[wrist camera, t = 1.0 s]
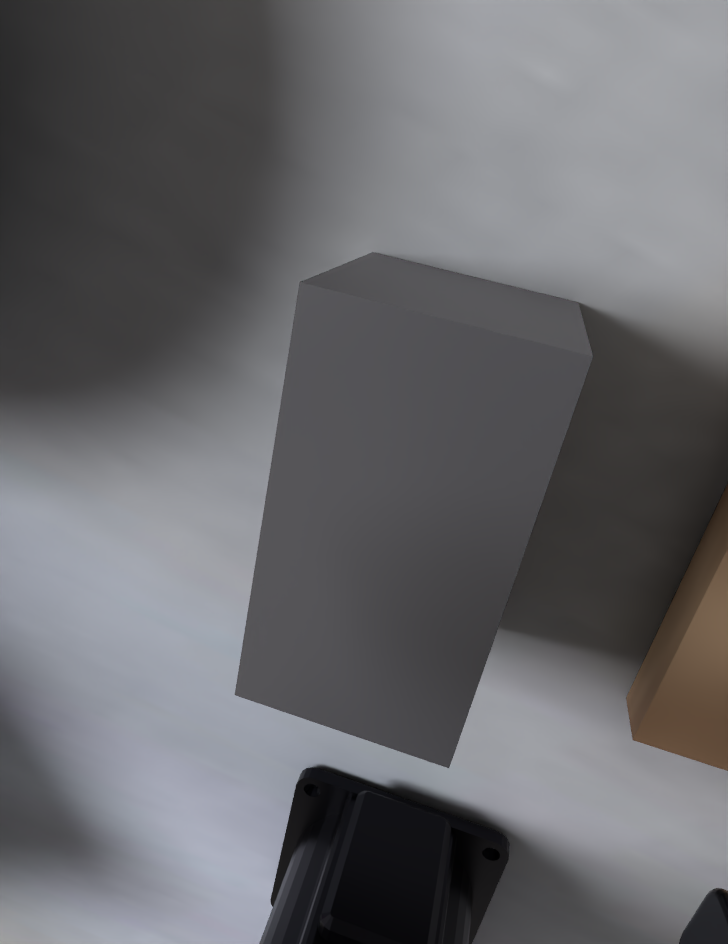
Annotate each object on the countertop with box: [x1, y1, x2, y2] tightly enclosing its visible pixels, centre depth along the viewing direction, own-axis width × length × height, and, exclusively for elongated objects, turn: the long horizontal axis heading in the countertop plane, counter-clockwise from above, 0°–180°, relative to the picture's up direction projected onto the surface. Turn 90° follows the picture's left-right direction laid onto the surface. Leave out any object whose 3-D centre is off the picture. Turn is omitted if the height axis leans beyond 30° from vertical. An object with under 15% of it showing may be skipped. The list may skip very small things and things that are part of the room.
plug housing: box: [235, 252, 593, 768], centre depth 14 cm, size 8×4×5 cm, turn 168°
